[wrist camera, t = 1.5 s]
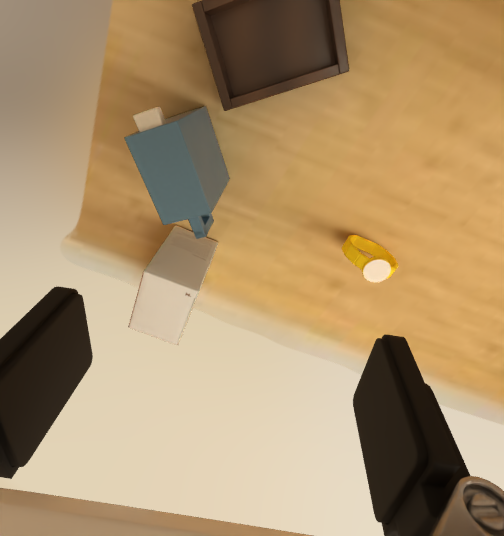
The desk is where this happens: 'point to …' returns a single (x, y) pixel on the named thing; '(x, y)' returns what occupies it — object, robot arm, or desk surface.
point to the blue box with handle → (180, 165)
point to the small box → (172, 285)
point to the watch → (371, 267)
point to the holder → (270, 45)
